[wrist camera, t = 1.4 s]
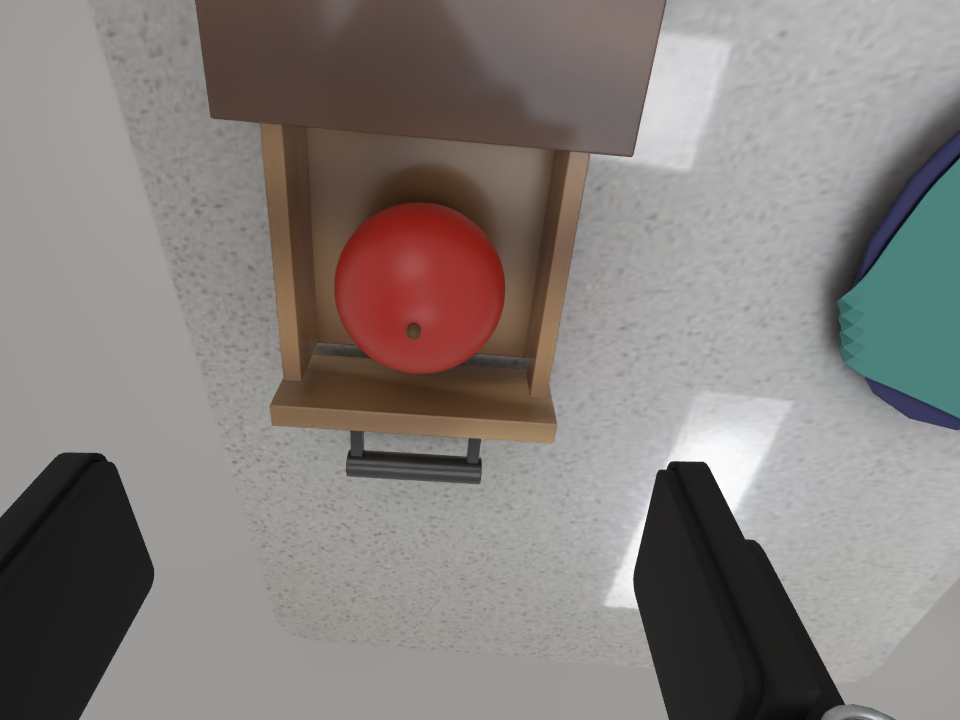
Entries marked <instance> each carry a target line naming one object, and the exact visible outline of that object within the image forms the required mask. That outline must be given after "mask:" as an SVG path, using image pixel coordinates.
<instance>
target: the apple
mask: <svg viewBox="0 0 960 720" xmlns="http://www.w3.org/2000/svg"><path fill="white" fill-rule="evenodd" d="M334 294H335V303H336V307H337V311H338V314H339V317H340V319H341V322H342V324H343V326H344V328H345V330H346V332H347V333H348V335H349V336H350V337H351V339H352V340H353V341H354V343H355V344H356V345H357V346H358V347H359V348H360V349H361V350H362V351H363V352H364V353H365V354H366V355H368V356H369V357H370V358H372V359H373V360H375V361H376V362H378V363H380V364H382V365H384V366H386V367H388V368H391V369H394V370H397V371H401V372H405V373H413V374H428V373H436V372H441V371H445V370H448V369H451V368H453V367H455V366H457V365H460V364H461V363H463V362H465V361H466V360H468V359H469V358H471V357H472V356H474V355H475V354H476V353H477V352H478V351H479V350H480V349H481V348H482V347H483V346H484V345H485V344H486V343H487V341H488V340H489V339H490V337H491V336H492V334H493V333H494V331H495V329H496V327H497V325H498V323H499V320H500V317H501V314H502V312H503V307H504V302H505V275H504V271H503V267H502V263H501V260H500V258H499V255H498V253H497V251H496V249H495V247H494V245H493V243H492V242H491V240H490V239H489V238H488V236H487V235H486V234H485V233H484V231H483V230H482V229H481V228H480V227H479V226H478V225H477V224H476V223H474V222H473V221H472V220H471V219H469V218H468V217H467V216H465V215H463V214H461V213H460V212H458V211H456V210H453V209H451V208H449V207H446V206H442V205H439V204H434V203H427V202H411V203H403V204H399V205H395V206H392V207H389V208H387V209H384V210H382V211H380V212H379V213H377V214H375V215H373V216H372V217H370V218H369V219H368V220H366V221H365V222H364V223H362V224H361V225H360V226H359V227H358V228H357V229H356V231H355V232H354V233H353V234H352V236H351V237H350V238H349V240H348V241H347V243H346V244H345V246H344V248H343V250H342V252H341V255H340V258H339V261H338V264H337V267H336V272H335V279H334Z"/></svg>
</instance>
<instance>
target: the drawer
mask: <svg viewBox="0 0 960 720" xmlns="http://www.w3.org/2000/svg"><path fill="white" fill-rule="evenodd" d="M260 130H261V141H262V151H263V162H264V173H265V184H266V194H267V205H268V216H269V227H270V237H271V248H272V259H273V270H274V280H275V291H276V302H277V313H278V323H279V334H280V345H281V356H282V366H283V377H284V378H283V380H282V382H281V384H280V386H279V388H278V390H277V392H276V394H275V396H274V398H273V400H272V402H271V404H270V413H271V422H272V425H273V426H289V427H305V428H320V429H336V430H350V434H351V449H350V450H349V452H348V456H347V462H346V474H347V476H350V477H367V478H384V479H400V480H417V481H434V482H450V483H467V484H480V481H481V470H482V459H481V458H479V451H480V443H481V439H492V440H507V441H523V442H538V443H553V442H554V439H555V433H556V428H557V421H556V416H555V411H554V406H553V401H552V396H551V391H550V386H549V381H550V375H551V369H552V364H553V358H554V353H555V347H556V341H557V336H558V330H559V325H560V319H561V314H562V308H563V302H564V297H565V291H566V286H567V280H568V275H569V269H570V263H571V258H572V252H573V247H574V241H575V235H576V230H577V224H578V219H579V213H580V208H581V202H582V196H583V191H584V185H585V180H586V174H587V168H588V163H589V157H590V153H581V152H570V151H560V150H549V149H538V148H527V147H516V146H505V145H494V144H484V143H473V142H462V141H451V140H440V139H429V138H418V137H408V136H397V135H386V134H375V133H364V132H353V131H342V130H332V129H321V128H310V127H299V126H288V125H277V124H266V123H260ZM411 202H427V203H434V204H439V205H442V206H446V207H449V208H451V209H453V210H456V211H458V212H460V213H461V214H463V215H465V216H467V217H468V218H469V219H471V220H472V221H473V222H474V223H476V224H477V225H478V226H479V227H480V228H481V229H482V230H483V231H484V233H485V234H486V235H487V236H488V238H489V239H490V240H491V242H492V243H493V245H494V247H495V249H496V251H497V253H498V255H499V258H500V260H501V263H502V267H503V271H504V275H505V302H504V307H503V312H502V314H501V317H500V320H499V323H498V325H497V327H496V329H495V331H494V333H493V334H492V336H491V337H490V339H489V340H488V341H487V343H486V344H485V345H484V346H483V347H482V348H481V349H480V350H479V351H478V352H477V353H476V354H484V355H498V356H512V357H524V360H525V367H526V369H513V368H499V367H485V366H471V365H457V366H455V367H453V368H451V369H448V370H445V371H441V372H436V373H428V374H413V373H405V372H401V371H397V370H394V369H391V368H388V367H386V366H384V365H382V364H380V363H378V362H376V361H375V360H373V359H372V358H359V357H344V356H330V355H316V354H313V353H314V351H315V349H316V346H317V344H318V343H332V344H345V345H356V344H355V343H354V341H353V340H352V339H351V337H350V336H349V335H348V333H347V332H346V330H345V328H344V326H343V324H342V322H341V319H340V317H339V314H338V311H337V307H336V303H335V294H334V279H335V272H336V267H337V264H338V261H339V258H340V255H341V252H342V250H343V248H344V246H345V244H346V243H347V241H348V240H349V238H350V237H351V236H352V234H353V233H354V232H355V231H356V229H357V228H358V227H359V226H360V225H361V224H362V223H364V222H365V221H366V220H368V219H369V218H370V217H372V216H373V215H375V214H377V213H379V212H380V211H382V210H384V209H387V208H389V207H392V206H395V205H399V204H403V203H411ZM364 431H367V432H382V433H398V434H414V435H429V436H445V437H460V438H469V440H468V450H467V457H463V456H447V455H431V454H415V453H399V452H383V451H367V450H364Z"/></svg>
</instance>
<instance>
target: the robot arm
mask: <svg viewBox="0 0 960 720" xmlns="http://www.w3.org/2000/svg"><path fill="white" fill-rule="evenodd" d="M153 580H154V568H153V564H152V562H151V559H150V556H149V553H148V551H147V548H146V546H145V543H144V540H143V537H142V535H141V532H140V529H139V527H138V524H137V522H136V519H135V516H134V514H133V511H132V508H131V505H130V503H129V500H128V497H127V494H126V492H125V489H124V486H123V484H122V481H121V478H120V476H119V473H118V470H117V468H116V466H115V464H113V463H112V462H108V461H107V459H106V458H105V456H103V455H102V454H99V453H62V454H59V455H58V456H57V457H56V458H54V460H53V461H52V462H51V463H50V464H49V465H48V466H47V467H46V468H45V469H44V470H43V472H42V473H41V474H40V475H39V476H38V477H37V478H36V479H35V480H34V481H33V483H32V484H31V485H30V486H29V487H28V488H27V489H26V490H25V491H24V492H23V493H22V494H21V496H20V497H19V498H18V499H17V500H16V501H15V502H14V503H13V504H12V506H11V507H10V508H9V509H8V510H7V511H6V512H5V513H4V514H3V515H2V516H1V517H0V720H79V718H80V716H81V715H82V713H83V711H84V709H85V707H86V706H87V704H88V702H89V700H90V698H91V696H92V695H93V693H94V691H95V689H96V687H97V686H98V684H99V682H100V680H101V678H102V676H103V675H104V673H105V671H106V669H107V667H108V665H109V664H110V662H111V660H112V658H113V656H114V655H115V653H116V651H117V649H118V647H119V645H120V644H121V642H122V640H123V638H124V636H125V634H126V633H127V631H128V629H129V627H130V626H131V624H132V622H133V620H134V618H135V616H136V615H137V613H138V611H139V609H140V607H141V605H142V604H143V602H144V600H145V598H146V596H147V595H148V593H149V591H150V589H151V587H152V584H153ZM633 583H634V592H635V596H636V600H637V603H638V607H639V611H640V615H641V618H642V622H643V626H644V629H645V633H646V637H647V640H648V644H649V648H650V652H651V655H652V659H653V663H654V666H655V670H656V674H657V677H658V681H659V685H660V688H661V692H662V696H663V700H664V703H665V707H666V711H667V714H668V718H669V720H895V719H893V718H892V717H890V716H888V715H886V714H884V713H881V712H879V711H877V710H875V709H873V708H869V707H864V706H859V705H855V704H851V705H845V703H844V701H843V700H842V698H841V696H840V694H839V692H838V690H837V688H836V686H835V684H834V682H833V681H832V679H831V677H830V675H829V673H828V671H827V669H826V667H825V665H824V663H823V662H822V660H821V658H820V656H819V654H818V652H817V650H816V648H815V646H814V644H813V643H812V641H811V639H810V637H809V635H808V633H807V631H806V629H805V627H804V625H803V624H802V622H801V620H800V618H799V616H798V614H797V612H796V610H795V608H794V606H793V604H792V603H791V601H790V599H789V597H788V595H787V593H786V591H785V589H784V587H783V585H782V584H781V582H780V580H779V578H778V576H777V574H776V572H775V570H774V568H773V566H772V565H771V563H770V561H769V559H768V557H767V555H766V553H765V552H764V550H763V549H762V547H761V546H760V544H758V543H757V542H756V541H755V540H746V539H745V538H744V536H743V534H742V532H741V530H740V528H739V526H738V524H737V522H736V520H735V518H734V516H733V514H732V512H731V510H730V508H729V506H728V504H727V502H726V500H725V498H724V496H723V494H722V492H721V490H720V488H719V486H718V484H717V482H716V480H715V478H714V476H713V474H712V472H711V470H710V468H709V467H708V465H707V464H706V463H704V462H680V461H673V462H670V463H669V465H668V467H667V470H659V471H658V472H657V475H656V480H655V484H654V488H653V492H652V497H651V501H650V505H649V510H648V514H647V518H646V523H645V527H644V531H643V535H642V540H641V544H640V548H639V553H638V557H637V561H636V565H635V570H634V577H633Z"/></svg>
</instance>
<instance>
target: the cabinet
mask: <svg viewBox="0 0 960 720" xmlns="http://www.w3.org/2000/svg"><path fill="white" fill-rule="evenodd" d="M666 1H667V0H195V3H196V10H197V18H198V25H199V33H200V41H201V48H202V56H203V63H204V71H205V78H206V86H207V94H208V101H209V109H210V116H211V118H213V119H223V120H234V121H245V122H256V123H266V124H277V125H288V126H299V127H310V128H321V129H332V130H342V131H353V132H364V133H375V134H386V135H397V136H408V137H418V138H429V139H440V140H451V141H462V142H473V143H484V144H494V145H505V146H516V147H527V148H538V149H549V150H560V151H570V152H581V153H592V154H603V155H614V156H625V157H632V156H633V154H634V149H635V145H636V140H637V135H638V131H639V126H640V121H641V117H642V112H643V108H644V103H645V98H646V94H647V89H648V84H649V80H650V75H651V70H652V66H653V61H654V56H655V52H656V47H657V43H658V38H659V33H660V29H661V24H662V19H663V15H664V10H665V5H666Z"/></svg>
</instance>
